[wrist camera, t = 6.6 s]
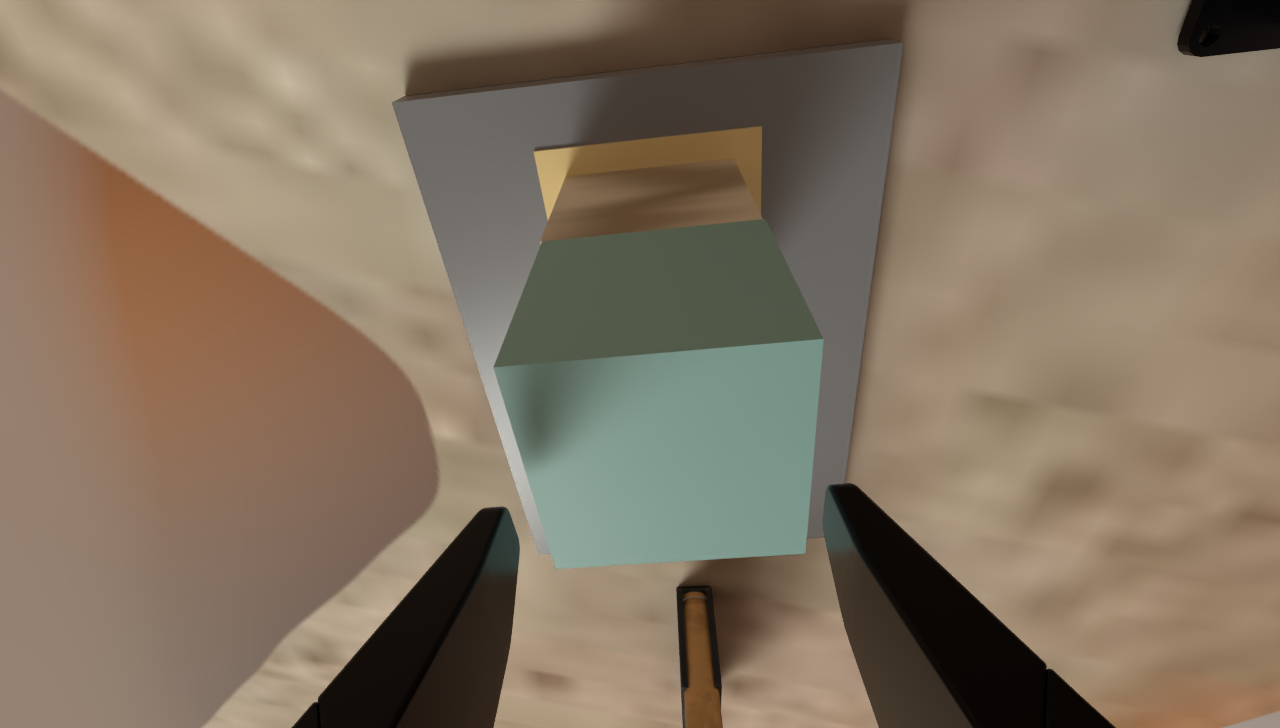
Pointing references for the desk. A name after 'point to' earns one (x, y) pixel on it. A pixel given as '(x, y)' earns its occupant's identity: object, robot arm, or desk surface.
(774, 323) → the teal block
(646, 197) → the maple block
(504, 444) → the grey flat plate
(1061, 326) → the desk surface
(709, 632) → the ammunition clip
